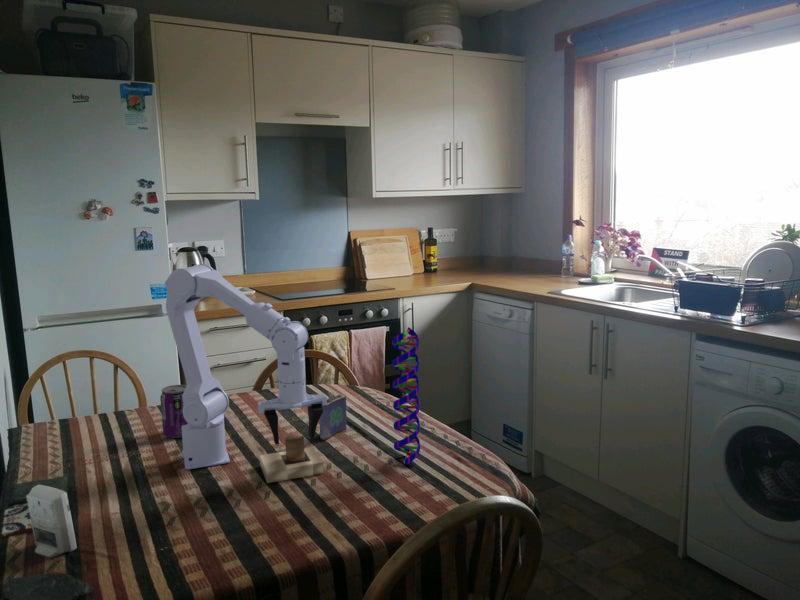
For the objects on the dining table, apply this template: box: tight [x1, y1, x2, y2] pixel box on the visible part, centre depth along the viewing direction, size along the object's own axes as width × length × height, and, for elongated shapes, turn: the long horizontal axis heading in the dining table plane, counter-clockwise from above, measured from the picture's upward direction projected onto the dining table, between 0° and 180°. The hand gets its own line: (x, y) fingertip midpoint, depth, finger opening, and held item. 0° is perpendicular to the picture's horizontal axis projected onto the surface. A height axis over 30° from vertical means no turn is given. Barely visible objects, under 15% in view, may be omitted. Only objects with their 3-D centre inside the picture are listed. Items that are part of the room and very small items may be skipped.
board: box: [259, 446, 324, 484], centre depth 138 cm, size 12×9×2 cm
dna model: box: [391, 327, 421, 466], centre depth 140 cm, size 6×6×30 cm
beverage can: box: [159, 384, 188, 439], centre depth 159 cm, size 7×7×12 cm
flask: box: [319, 391, 348, 441], centre depth 158 cm, size 9×3×11 cm, turn 146°
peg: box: [284, 434, 305, 465], centre depth 139 cm, size 4×4×7 cm
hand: (294, 440), depth 138 cm, fingers open, 7 cm apart
